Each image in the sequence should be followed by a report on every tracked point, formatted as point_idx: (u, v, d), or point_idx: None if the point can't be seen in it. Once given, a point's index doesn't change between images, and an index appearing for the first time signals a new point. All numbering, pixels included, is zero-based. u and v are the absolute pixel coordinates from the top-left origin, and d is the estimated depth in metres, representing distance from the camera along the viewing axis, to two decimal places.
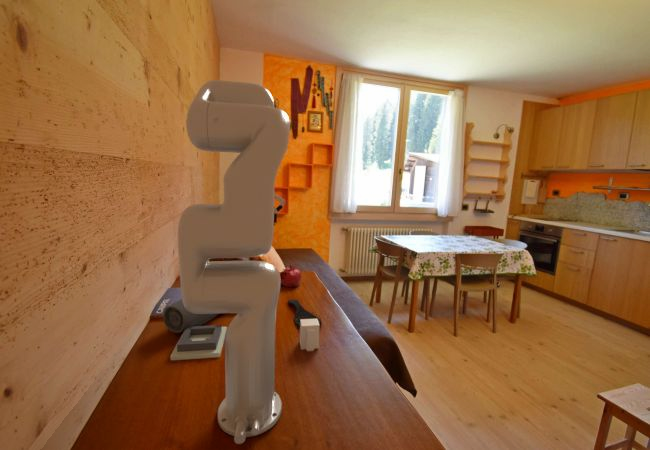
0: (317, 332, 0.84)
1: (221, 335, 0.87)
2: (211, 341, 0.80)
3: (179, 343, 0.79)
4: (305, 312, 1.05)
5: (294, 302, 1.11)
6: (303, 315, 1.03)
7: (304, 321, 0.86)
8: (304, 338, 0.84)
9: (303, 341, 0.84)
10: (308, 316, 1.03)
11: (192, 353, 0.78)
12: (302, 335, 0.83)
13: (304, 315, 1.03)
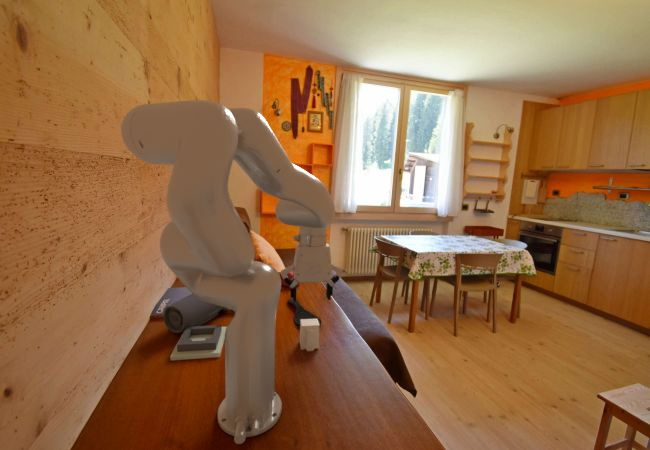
0: (317, 332, 0.84)
1: (221, 335, 0.87)
2: (211, 341, 0.80)
3: (179, 343, 0.79)
4: (305, 311, 1.05)
5: None
6: (303, 314, 1.04)
7: (304, 321, 0.86)
8: (304, 338, 0.84)
9: (303, 341, 0.84)
10: (308, 315, 1.04)
11: (192, 353, 0.78)
12: (302, 335, 0.83)
13: (304, 314, 1.04)
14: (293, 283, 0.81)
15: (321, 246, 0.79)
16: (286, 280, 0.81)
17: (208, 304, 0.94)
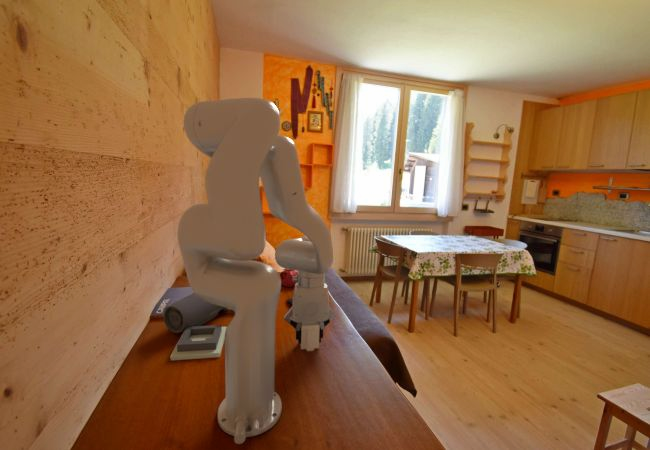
0: (317, 332, 0.84)
1: (221, 335, 0.87)
2: (211, 341, 0.80)
3: (179, 343, 0.79)
4: None
5: None
6: None
7: None
8: (304, 338, 0.84)
9: (303, 341, 0.84)
10: None
11: (192, 353, 0.78)
12: (302, 335, 0.83)
13: None
14: (297, 326, 0.83)
15: (319, 287, 0.81)
16: (292, 323, 0.83)
17: (208, 304, 0.94)
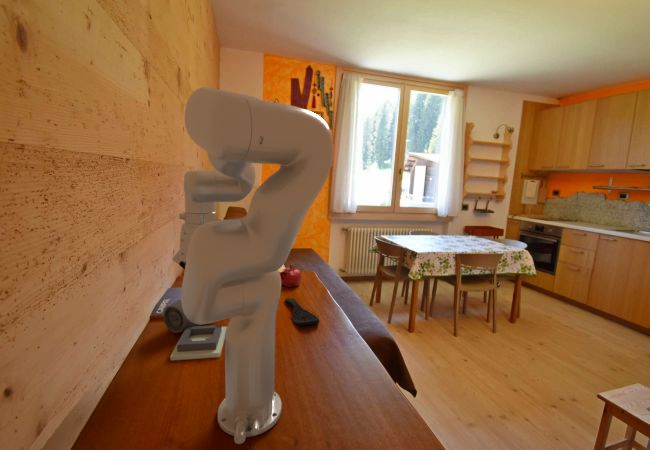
0: None
1: (221, 335, 0.87)
2: (211, 341, 0.80)
3: (179, 343, 0.79)
4: (302, 310, 1.06)
5: (291, 301, 1.12)
6: (300, 313, 1.05)
7: None
8: None
9: None
10: (305, 314, 1.04)
11: (192, 353, 0.78)
12: None
13: (301, 313, 1.05)
14: None
15: None
16: (181, 264, 0.79)
17: None
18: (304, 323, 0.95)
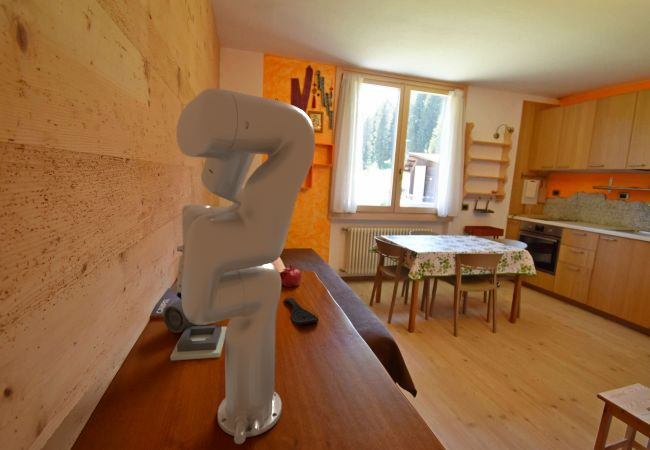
0: None
1: (221, 335, 0.87)
2: (211, 341, 0.80)
3: (179, 343, 0.79)
4: (302, 310, 1.06)
5: (290, 300, 1.12)
6: (300, 313, 1.05)
7: None
8: None
9: None
10: (305, 313, 1.05)
11: (192, 353, 0.78)
12: None
13: (301, 313, 1.05)
14: None
15: None
16: (178, 295, 0.81)
17: None
18: (303, 322, 0.95)
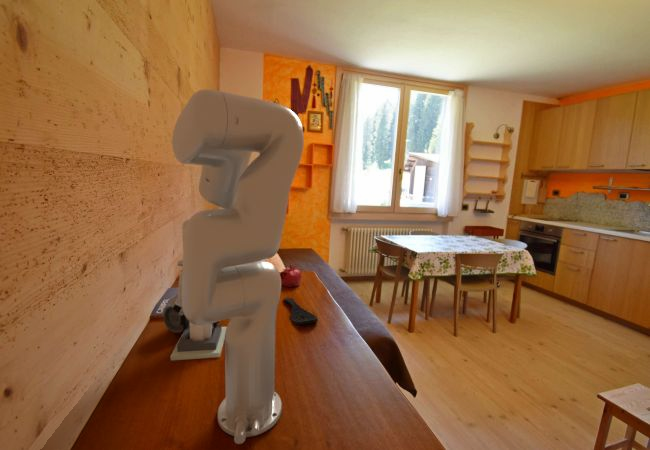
0: (207, 326, 0.82)
1: (221, 335, 0.87)
2: (211, 341, 0.80)
3: (179, 343, 0.79)
4: (301, 310, 1.07)
5: (289, 300, 1.12)
6: (299, 313, 1.05)
7: None
8: (193, 333, 0.82)
9: (192, 336, 0.82)
10: (304, 313, 1.05)
11: (192, 353, 0.78)
12: (190, 329, 0.82)
13: (300, 313, 1.05)
14: (181, 310, 0.81)
15: None
16: (175, 307, 0.81)
17: None
18: (303, 322, 0.95)
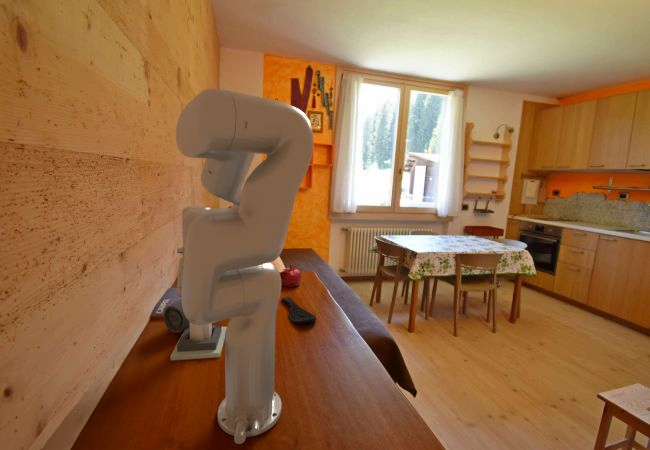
0: (207, 326, 0.82)
1: (221, 335, 0.87)
2: (211, 341, 0.80)
3: (179, 343, 0.79)
4: (299, 309, 1.07)
5: (288, 300, 1.12)
6: (297, 312, 1.05)
7: None
8: (193, 332, 0.82)
9: (192, 336, 0.82)
10: (302, 313, 1.05)
11: (192, 353, 0.78)
12: (190, 329, 0.82)
13: (298, 312, 1.05)
14: None
15: None
16: None
17: None
18: (301, 321, 0.96)
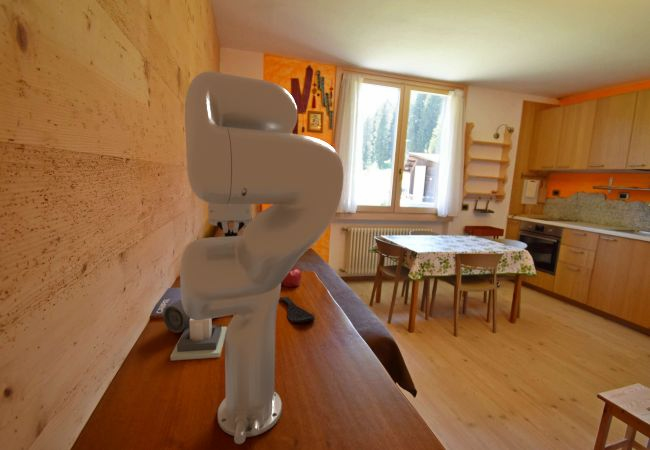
0: (207, 326, 0.82)
1: (221, 335, 0.87)
2: (211, 341, 0.80)
3: (179, 343, 0.79)
4: (297, 308, 1.08)
5: (286, 299, 1.13)
6: (296, 311, 1.06)
7: None
8: (193, 333, 0.82)
9: (192, 336, 0.82)
10: (300, 312, 1.06)
11: (192, 353, 0.78)
12: (190, 329, 0.82)
13: (297, 311, 1.06)
14: (224, 227, 0.74)
15: None
16: (219, 224, 0.74)
17: None
18: (300, 321, 0.96)
